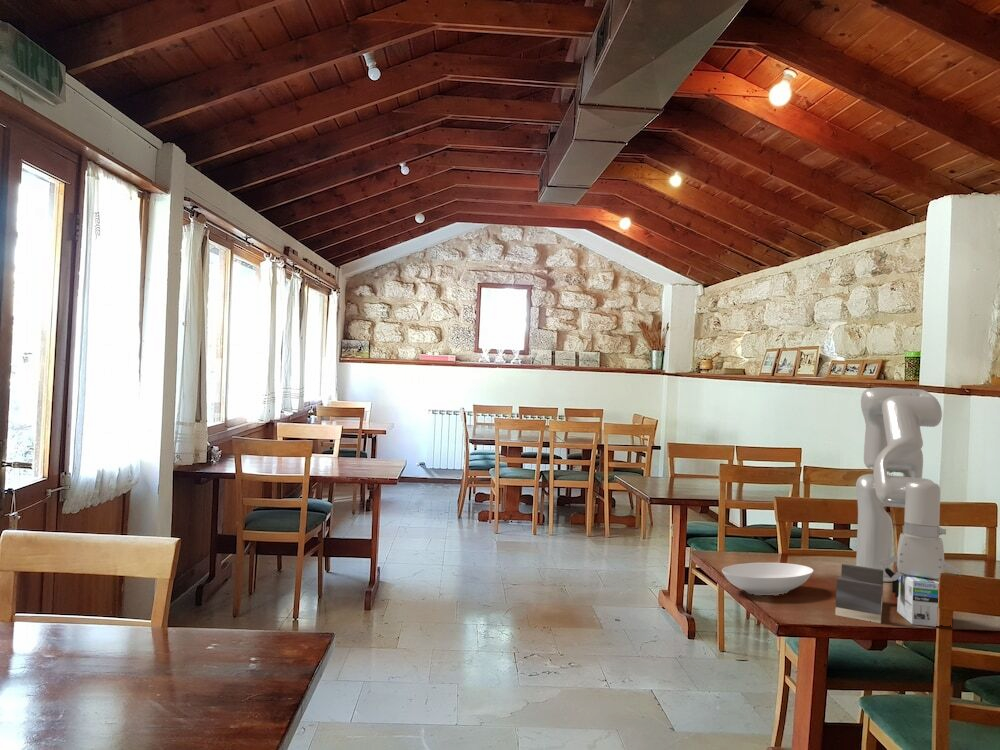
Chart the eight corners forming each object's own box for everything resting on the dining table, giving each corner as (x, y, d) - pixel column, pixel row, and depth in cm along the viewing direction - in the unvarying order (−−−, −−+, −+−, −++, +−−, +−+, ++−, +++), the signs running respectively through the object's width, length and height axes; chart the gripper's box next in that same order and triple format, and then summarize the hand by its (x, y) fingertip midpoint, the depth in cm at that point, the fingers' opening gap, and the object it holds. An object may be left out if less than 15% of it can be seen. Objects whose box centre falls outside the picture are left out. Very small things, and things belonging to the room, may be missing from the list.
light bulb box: (941, 628, 169) (943, 583, 169) (911, 625, 170) (912, 580, 171) (924, 614, 180) (925, 572, 180) (895, 611, 181) (897, 569, 181)
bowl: (745, 604, 181) (746, 580, 181) (705, 588, 194) (706, 566, 195) (828, 595, 193) (829, 573, 193) (786, 581, 207) (787, 560, 207)
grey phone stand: (840, 596, 193) (842, 563, 193) (882, 603, 188) (883, 569, 188) (835, 615, 175) (836, 579, 175) (880, 623, 170) (882, 586, 170)
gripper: (961, 533, 174) (959, 602, 174) (882, 524, 183) (879, 590, 182) (963, 538, 168) (961, 610, 167) (881, 528, 176) (879, 596, 176)
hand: (918, 599), depth 175 cm, fingers open, 9 cm apart
